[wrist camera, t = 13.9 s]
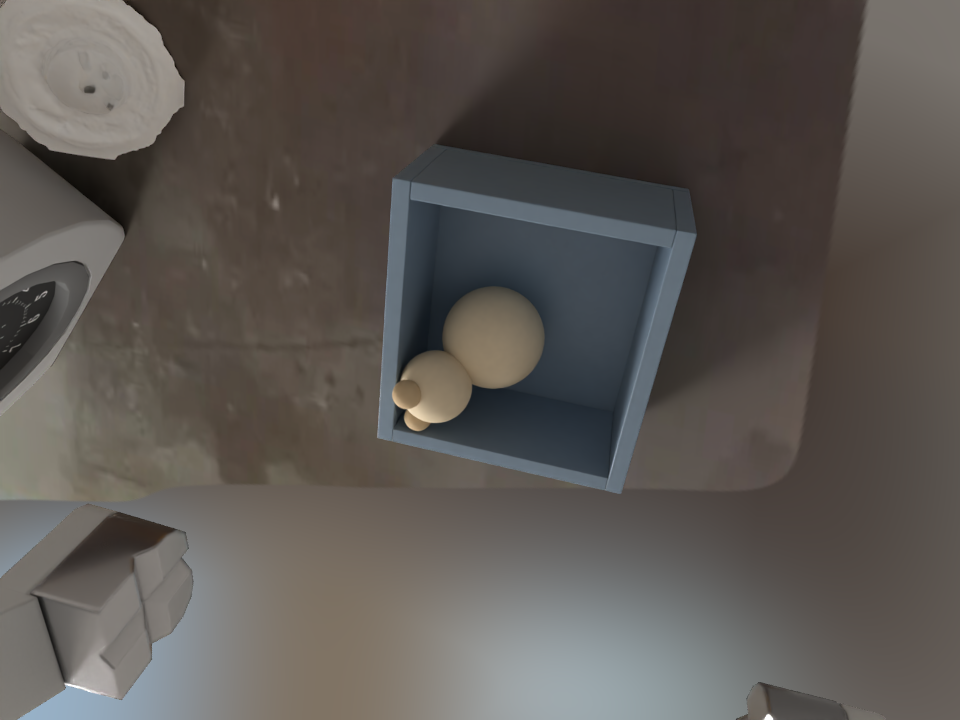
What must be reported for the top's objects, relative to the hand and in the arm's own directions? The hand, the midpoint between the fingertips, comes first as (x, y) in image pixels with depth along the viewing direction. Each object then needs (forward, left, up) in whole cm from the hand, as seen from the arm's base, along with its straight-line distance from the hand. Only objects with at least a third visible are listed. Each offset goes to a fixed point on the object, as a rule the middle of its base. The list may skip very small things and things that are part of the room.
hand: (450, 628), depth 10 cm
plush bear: (+2, +8, -27) cm, 28 cm away
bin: (+2, +7, -28) cm, 29 cm away
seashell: (+25, -1, -28) cm, 37 cm away
